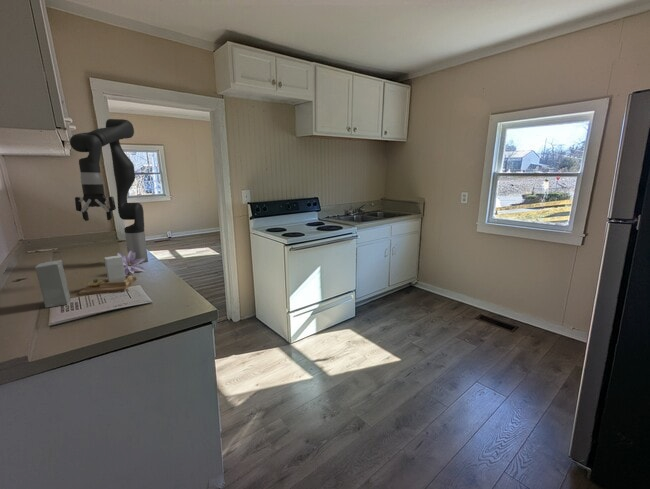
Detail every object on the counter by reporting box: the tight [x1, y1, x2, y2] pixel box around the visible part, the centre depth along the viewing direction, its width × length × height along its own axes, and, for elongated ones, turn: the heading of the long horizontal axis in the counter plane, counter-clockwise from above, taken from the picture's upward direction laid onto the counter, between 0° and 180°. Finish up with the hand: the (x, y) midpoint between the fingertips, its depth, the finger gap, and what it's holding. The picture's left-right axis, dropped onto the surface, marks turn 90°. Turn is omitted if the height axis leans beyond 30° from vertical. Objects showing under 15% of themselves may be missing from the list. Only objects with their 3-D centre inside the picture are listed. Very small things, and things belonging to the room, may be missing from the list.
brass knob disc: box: [87, 278, 102, 287], centre depth 130 cm, size 5×5×2 cm
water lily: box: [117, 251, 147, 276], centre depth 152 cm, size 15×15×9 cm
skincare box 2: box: [103, 254, 125, 282], centre depth 131 cm, size 6×4×12 cm
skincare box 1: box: [34, 259, 71, 308], centre depth 113 cm, size 8×7×16 cm
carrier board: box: [78, 274, 137, 296], centre depth 131 cm, size 16×16×3 cm
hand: (98, 220), depth 135 cm, fingers open, 8 cm apart
